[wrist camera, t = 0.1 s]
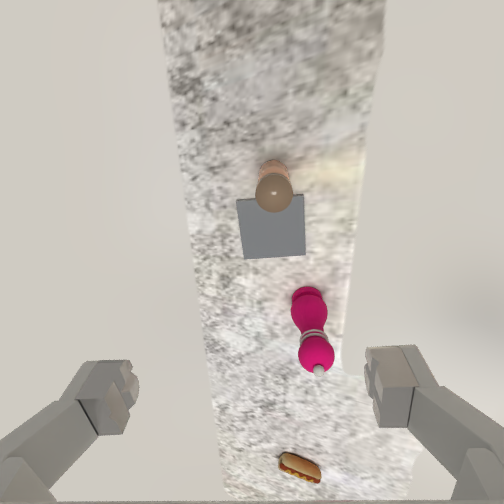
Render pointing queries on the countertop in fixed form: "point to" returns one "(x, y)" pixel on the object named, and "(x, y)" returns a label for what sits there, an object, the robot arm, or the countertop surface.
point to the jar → (273, 187)
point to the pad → (272, 229)
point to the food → (299, 468)
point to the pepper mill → (312, 330)
